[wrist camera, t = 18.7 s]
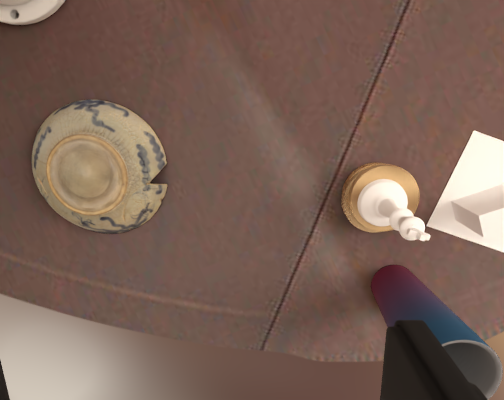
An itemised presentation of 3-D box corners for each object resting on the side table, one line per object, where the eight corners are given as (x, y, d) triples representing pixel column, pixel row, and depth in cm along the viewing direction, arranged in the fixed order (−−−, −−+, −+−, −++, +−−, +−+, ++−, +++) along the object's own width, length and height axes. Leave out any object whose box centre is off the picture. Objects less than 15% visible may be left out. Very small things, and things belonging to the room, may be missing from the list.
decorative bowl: (12, 118, 39) (63, 246, 43) (-13, 120, 36) (45, 259, 39) (144, 83, 38) (185, 217, 42) (132, 81, 34) (178, 228, 38)
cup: (372, 252, 42) (430, 331, 28) (430, 264, 42) (517, 349, 28) (356, 303, 44) (402, 403, 29) (410, 314, 44) (483, 419, 30)
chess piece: (367, 172, 37) (405, 199, 27) (413, 186, 37) (467, 217, 27) (350, 217, 38) (380, 258, 28) (395, 230, 38) (439, 274, 29)
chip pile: (341, 160, 39) (347, 165, 37) (411, 160, 39) (423, 165, 36) (338, 226, 41) (343, 236, 39) (404, 226, 41) (415, 235, 38)
